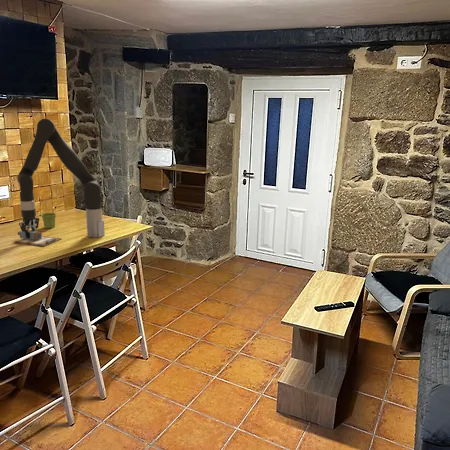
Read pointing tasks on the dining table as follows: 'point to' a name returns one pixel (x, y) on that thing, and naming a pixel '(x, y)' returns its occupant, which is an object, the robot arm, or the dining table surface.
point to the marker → (31, 235)
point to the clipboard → (39, 241)
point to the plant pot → (49, 220)
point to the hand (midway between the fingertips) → (30, 237)
